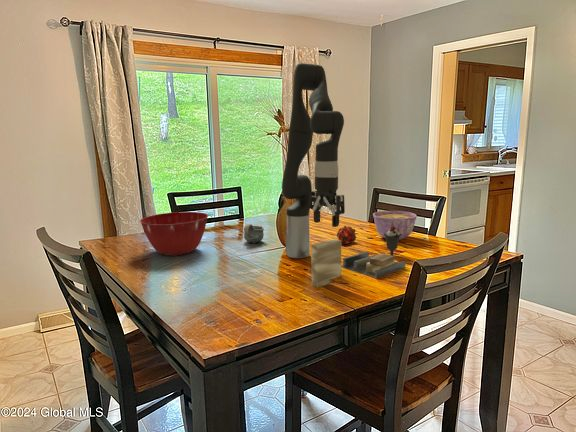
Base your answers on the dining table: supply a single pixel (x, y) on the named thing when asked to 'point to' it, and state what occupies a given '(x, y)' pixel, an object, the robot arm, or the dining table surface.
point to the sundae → (392, 239)
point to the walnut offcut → (381, 259)
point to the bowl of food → (394, 222)
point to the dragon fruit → (346, 235)
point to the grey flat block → (373, 268)
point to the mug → (253, 233)
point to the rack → (360, 260)
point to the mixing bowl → (175, 231)
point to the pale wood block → (325, 262)
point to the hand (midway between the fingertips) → (326, 224)
